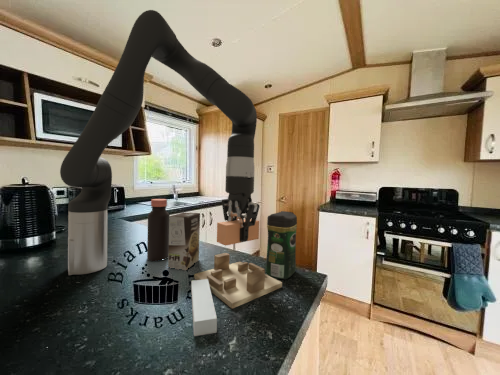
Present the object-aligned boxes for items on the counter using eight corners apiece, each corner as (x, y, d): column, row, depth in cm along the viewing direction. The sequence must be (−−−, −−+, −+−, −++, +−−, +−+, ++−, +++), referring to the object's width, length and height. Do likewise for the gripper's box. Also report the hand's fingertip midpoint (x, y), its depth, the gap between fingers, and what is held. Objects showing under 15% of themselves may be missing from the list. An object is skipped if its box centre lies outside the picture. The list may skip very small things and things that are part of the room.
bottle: (169, 253, 80) (170, 198, 79) (168, 260, 73) (169, 200, 72) (148, 255, 77) (149, 198, 77) (145, 262, 71) (146, 200, 70)
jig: (232, 308, 47) (232, 284, 47) (194, 278, 61) (194, 259, 61) (281, 287, 58) (282, 266, 58) (239, 265, 72) (240, 248, 71)
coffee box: (186, 271, 66) (188, 217, 65) (167, 268, 67) (168, 215, 66) (199, 260, 75) (201, 212, 74) (182, 258, 76) (183, 211, 75)
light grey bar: (193, 338, 39) (194, 321, 39) (191, 292, 54) (191, 280, 54) (216, 334, 40) (216, 318, 40) (207, 290, 55) (207, 278, 55)
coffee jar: (274, 265, 72) (277, 208, 72) (298, 271, 68) (300, 211, 68) (260, 275, 64) (263, 212, 63) (286, 283, 60) (289, 215, 59)
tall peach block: (225, 245, 54) (225, 225, 54) (216, 241, 57) (217, 222, 57) (258, 238, 61) (259, 220, 61) (249, 235, 64) (249, 218, 64)
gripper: (213, 174, 61) (212, 235, 62) (246, 174, 50) (243, 249, 51) (235, 175, 66) (233, 232, 67) (269, 175, 55) (266, 243, 56)
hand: (238, 239), depth 59 cm, fingers closed on tall peach block, 4 cm apart
